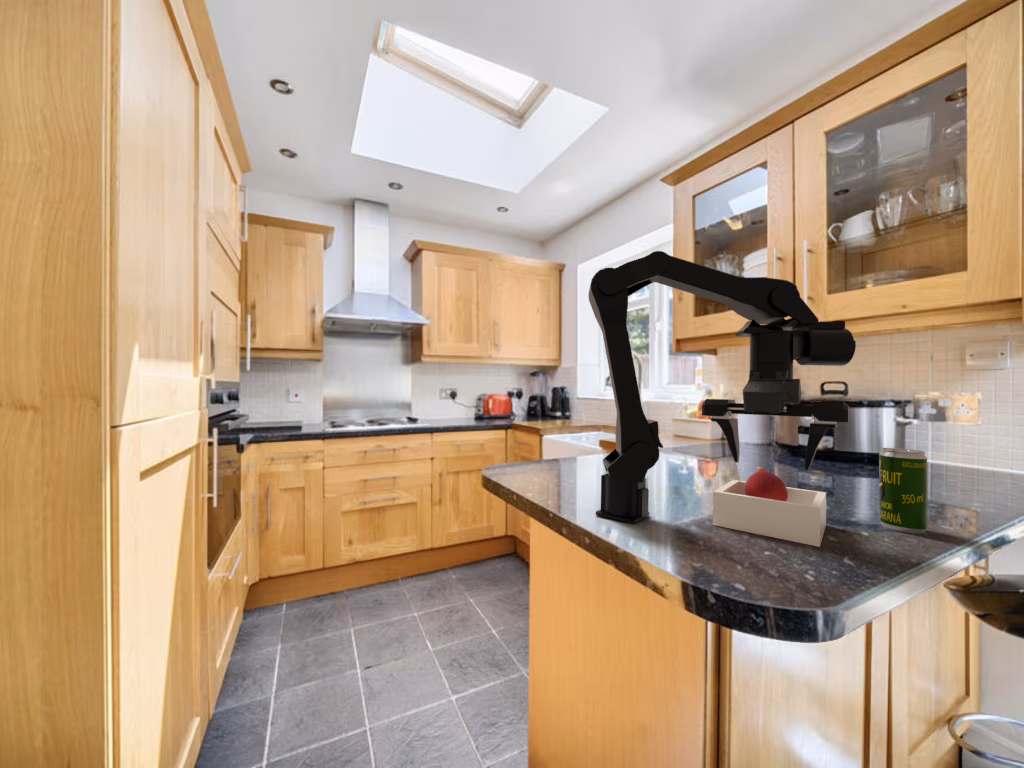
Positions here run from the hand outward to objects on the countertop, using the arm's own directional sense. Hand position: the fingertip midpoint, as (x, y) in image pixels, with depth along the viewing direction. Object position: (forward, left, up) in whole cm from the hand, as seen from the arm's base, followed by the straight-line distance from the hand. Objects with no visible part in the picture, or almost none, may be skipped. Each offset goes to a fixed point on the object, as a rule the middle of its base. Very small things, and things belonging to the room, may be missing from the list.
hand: (770, 465), depth 63 cm
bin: (0, 0, -9) cm, 9 cm away
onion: (0, 0, -8) cm, 8 cm away
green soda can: (+16, +13, -9) cm, 22 cm away
